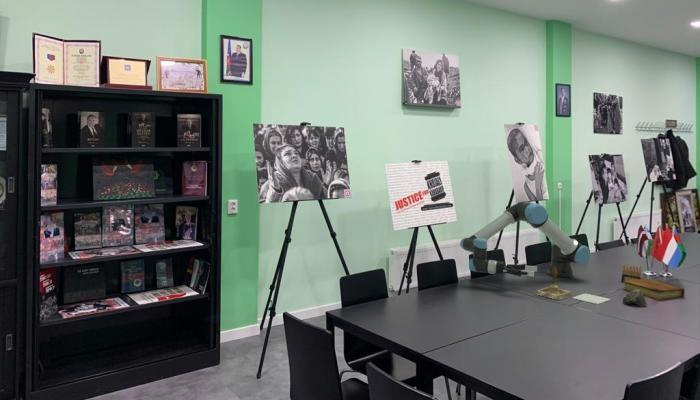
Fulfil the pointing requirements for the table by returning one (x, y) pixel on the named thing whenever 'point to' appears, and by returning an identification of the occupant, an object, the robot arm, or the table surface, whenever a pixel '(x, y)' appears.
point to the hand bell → (554, 283)
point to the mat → (591, 299)
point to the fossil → (635, 298)
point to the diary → (654, 289)
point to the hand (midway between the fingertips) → (535, 271)
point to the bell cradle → (557, 297)
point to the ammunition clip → (631, 273)
